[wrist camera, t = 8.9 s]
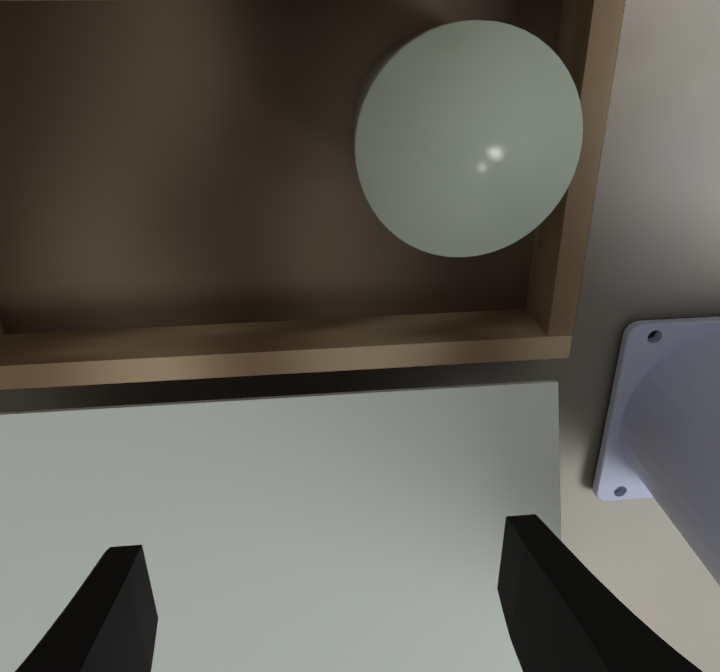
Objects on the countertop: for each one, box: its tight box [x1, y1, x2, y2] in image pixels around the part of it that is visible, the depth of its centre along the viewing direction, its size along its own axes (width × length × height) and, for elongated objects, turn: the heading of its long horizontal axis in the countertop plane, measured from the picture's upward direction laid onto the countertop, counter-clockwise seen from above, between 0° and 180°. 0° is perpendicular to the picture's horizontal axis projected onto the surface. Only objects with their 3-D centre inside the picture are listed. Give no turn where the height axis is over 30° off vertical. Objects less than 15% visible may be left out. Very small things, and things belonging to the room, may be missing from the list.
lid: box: [0, 380, 561, 672], centre depth 20 cm, size 18×10×1 cm, turn 90°
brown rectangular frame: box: [0, 0, 626, 390], centre depth 19 cm, size 19×20×5 cm
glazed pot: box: [353, 20, 583, 257], centre depth 17 cm, size 5×5×4 cm
